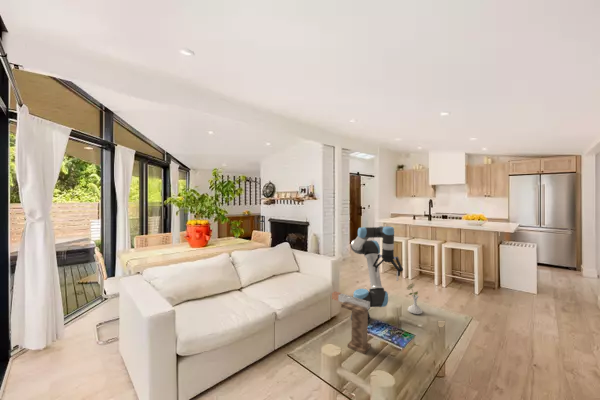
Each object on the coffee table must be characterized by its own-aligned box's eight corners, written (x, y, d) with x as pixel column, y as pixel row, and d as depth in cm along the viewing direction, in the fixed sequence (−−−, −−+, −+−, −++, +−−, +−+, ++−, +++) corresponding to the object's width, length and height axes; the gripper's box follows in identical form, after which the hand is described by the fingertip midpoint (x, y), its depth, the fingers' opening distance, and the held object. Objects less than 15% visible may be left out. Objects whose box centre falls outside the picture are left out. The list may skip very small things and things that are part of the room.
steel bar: (331, 299, 186) (331, 293, 186) (334, 296, 190) (334, 291, 189) (367, 310, 170) (367, 303, 170) (369, 307, 174) (370, 301, 173)
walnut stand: (341, 344, 181) (341, 304, 179) (347, 337, 189) (348, 298, 186) (364, 354, 170) (365, 311, 168) (370, 346, 178) (371, 305, 176)
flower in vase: (418, 308, 229) (419, 280, 227) (425, 315, 218) (426, 285, 216) (403, 308, 229) (404, 280, 227) (409, 315, 218) (410, 285, 216)
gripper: (368, 247, 191) (368, 276, 193) (405, 252, 178) (405, 283, 180) (371, 245, 197) (371, 273, 199) (407, 250, 184) (407, 280, 186)
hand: (387, 278), depth 189 cm, fingers open, 13 cm apart
